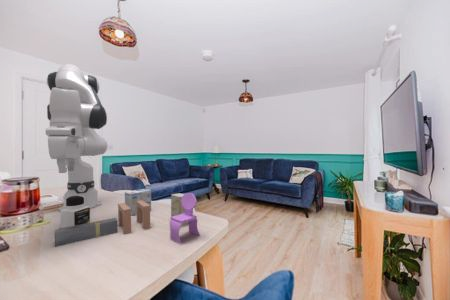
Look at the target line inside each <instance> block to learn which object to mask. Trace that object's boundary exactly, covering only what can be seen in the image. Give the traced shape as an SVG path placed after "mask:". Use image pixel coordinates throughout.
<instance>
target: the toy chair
mask: <svg viewBox="0 0 450 300" xmlns="http://www.w3.org/2000/svg"><path fill="white" fill-rule="evenodd" d="M184 194H185V195H183V196H182V198H181V202H182V206H183V207H184V208H185V209H186V213H182V214H180V215H176V216H172V217H171V216H170V220H169V233H170V234H169V235H170V237H169V238H170V240H172V241H174V242H177V243H178V244H181V245H182V244H183V243H182V241H181V238H180V235H179V234H180V230H181V227H182V226H181V225H182V224H183V223H186V222H187V225H188V232H189V233H191V234H194V235H196V236H199V237H200V236H201V234H200V232H199V229H198V221H199V220H198V219H197V216H198V215H194V208H196V206H197V205H198V202H197V198H196V196H195V194H194V193H190V192H187V193H184Z"/></svg>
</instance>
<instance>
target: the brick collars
mask: <svg viewBox="0 0 450 300" xmlns="http://www.w3.org/2000/svg"><path fill="white" fill-rule="evenodd" d="M117 212H118V214H117V215H118V216H117V217H118V218H117V220H118V227H119V228H120V227H122V234H123V235H126V234H131V233H132V216H131V208H129V207H128V206H127V205H126V204H125V202H122V203H118V205H117ZM135 216H136V223H137V224H138V223H142V224H141V225H142V229H143V230H147V229H150V228H151V211H150V205H149V204H147V203H146V202H144V201H143V200H140V201H136V215H135Z"/></svg>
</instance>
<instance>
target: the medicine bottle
mask: <svg viewBox="0 0 450 300" xmlns="http://www.w3.org/2000/svg"><path fill="white" fill-rule="evenodd" d="M84 205H85V204H84V196H81V195H78V196H71V197H68V198H67V199H66V208H67V209H63V210H61V211H59V212H60V213H59V217H60V219H59V220H60V221H59V222H60V224H59V225H60V227H59V228H65V227H70V226H75V225H80V224H85V223H91V208H90V206H84Z"/></svg>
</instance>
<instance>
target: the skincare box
mask: <svg viewBox="0 0 450 300" xmlns="http://www.w3.org/2000/svg"><path fill="white" fill-rule="evenodd" d="M185 194H186V193H180V192H179V193H173V194H172V193H171V195H170V196H171V197H170V201H171V202H170V204H171V206H170V207H171V208H170V218H171V217H172V216H176V215H180V214H182V213H186V209H185V208H184V207H183V206H182V202H181V198H182V196H183V195H185ZM186 225H188V222H186V223H183V224H182V225H181V227H183V226H186Z"/></svg>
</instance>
